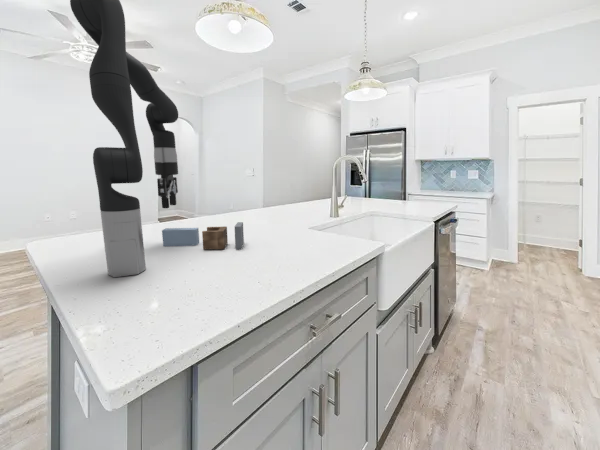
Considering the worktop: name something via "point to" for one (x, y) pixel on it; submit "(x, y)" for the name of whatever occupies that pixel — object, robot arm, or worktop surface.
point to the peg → (180, 236)
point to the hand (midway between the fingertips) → (169, 206)
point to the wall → (239, 235)
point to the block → (215, 238)
